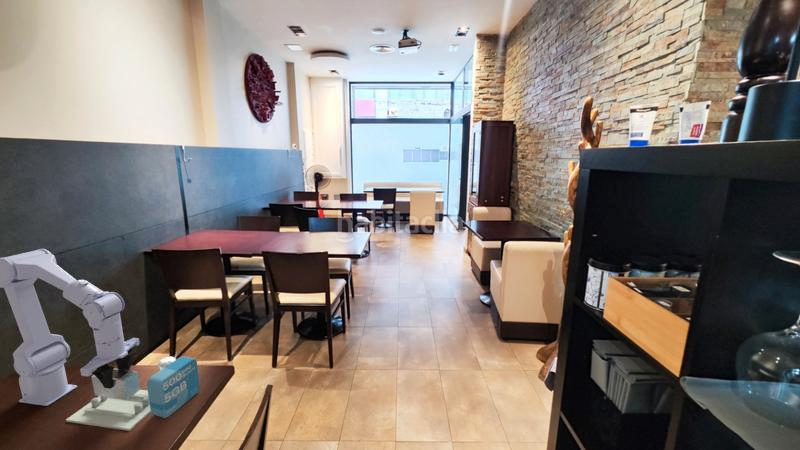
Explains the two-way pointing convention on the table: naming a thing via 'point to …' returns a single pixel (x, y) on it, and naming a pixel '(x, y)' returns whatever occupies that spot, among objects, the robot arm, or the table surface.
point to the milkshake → (166, 362)
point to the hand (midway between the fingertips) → (116, 381)
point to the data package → (173, 386)
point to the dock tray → (114, 411)
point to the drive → (118, 385)
